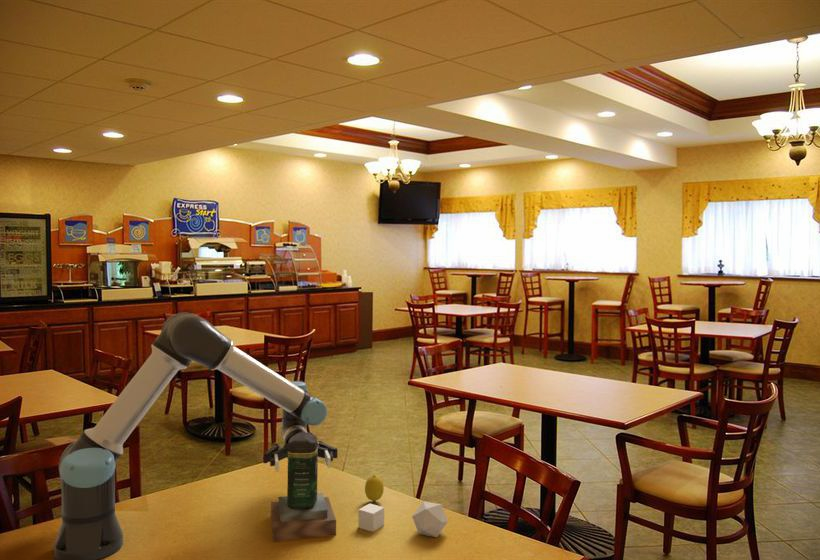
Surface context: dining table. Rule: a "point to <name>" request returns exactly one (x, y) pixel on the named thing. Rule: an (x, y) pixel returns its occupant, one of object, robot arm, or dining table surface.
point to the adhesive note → (371, 517)
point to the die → (430, 519)
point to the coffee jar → (302, 470)
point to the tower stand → (302, 520)
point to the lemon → (374, 488)
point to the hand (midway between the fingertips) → (303, 464)
